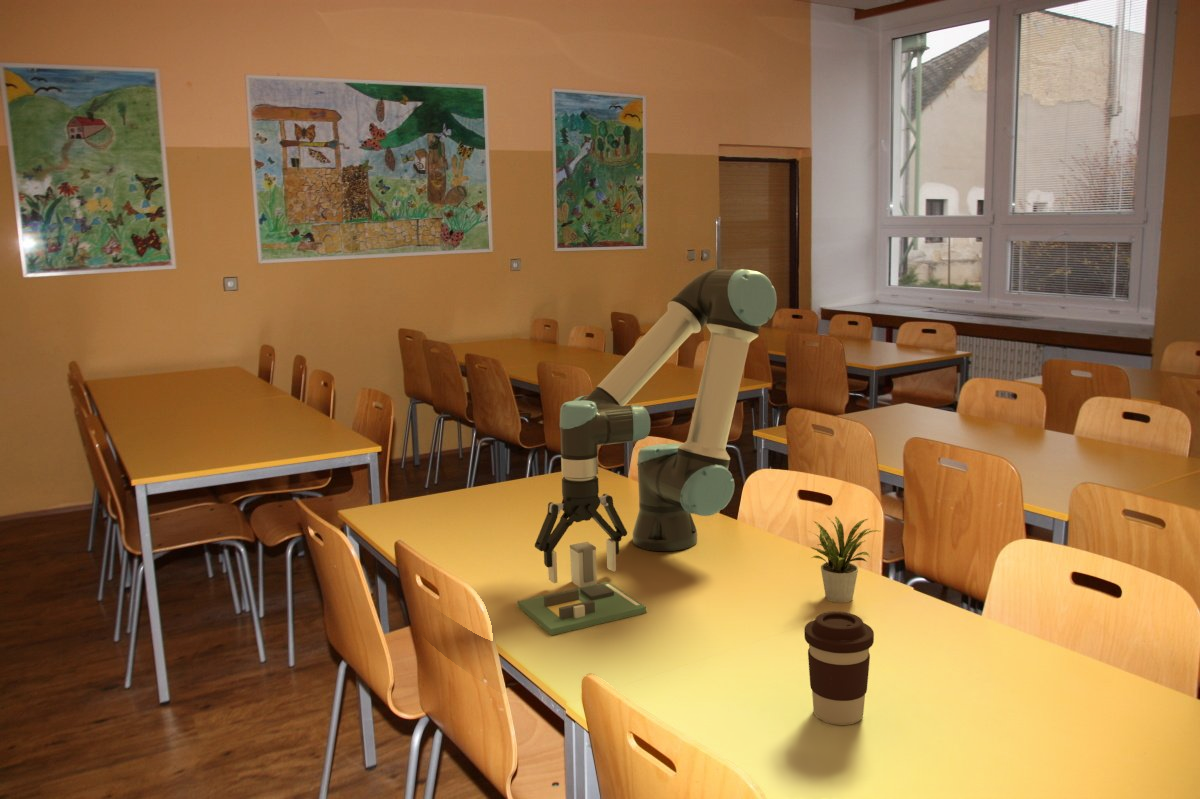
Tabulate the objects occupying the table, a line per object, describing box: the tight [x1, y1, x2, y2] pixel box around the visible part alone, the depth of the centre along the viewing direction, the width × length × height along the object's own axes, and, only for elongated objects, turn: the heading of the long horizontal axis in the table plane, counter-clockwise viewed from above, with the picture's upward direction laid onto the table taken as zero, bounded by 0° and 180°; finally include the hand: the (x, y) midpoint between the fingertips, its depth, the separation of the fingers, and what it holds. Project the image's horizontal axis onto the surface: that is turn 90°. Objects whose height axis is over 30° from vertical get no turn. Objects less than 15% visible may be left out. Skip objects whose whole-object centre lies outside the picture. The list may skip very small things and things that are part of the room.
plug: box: [569, 541, 598, 588], centre depth 203 cm, size 4×4×8 cm
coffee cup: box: [803, 610, 875, 726], centre depth 144 cm, size 10×10×15 cm
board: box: [517, 581, 647, 636], centre depth 189 cm, size 20×16×3 cm
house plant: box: [807, 515, 880, 604], centre depth 189 cm, size 14×14×16 cm
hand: (582, 575), depth 203 cm, fingers open, 13 cm apart
